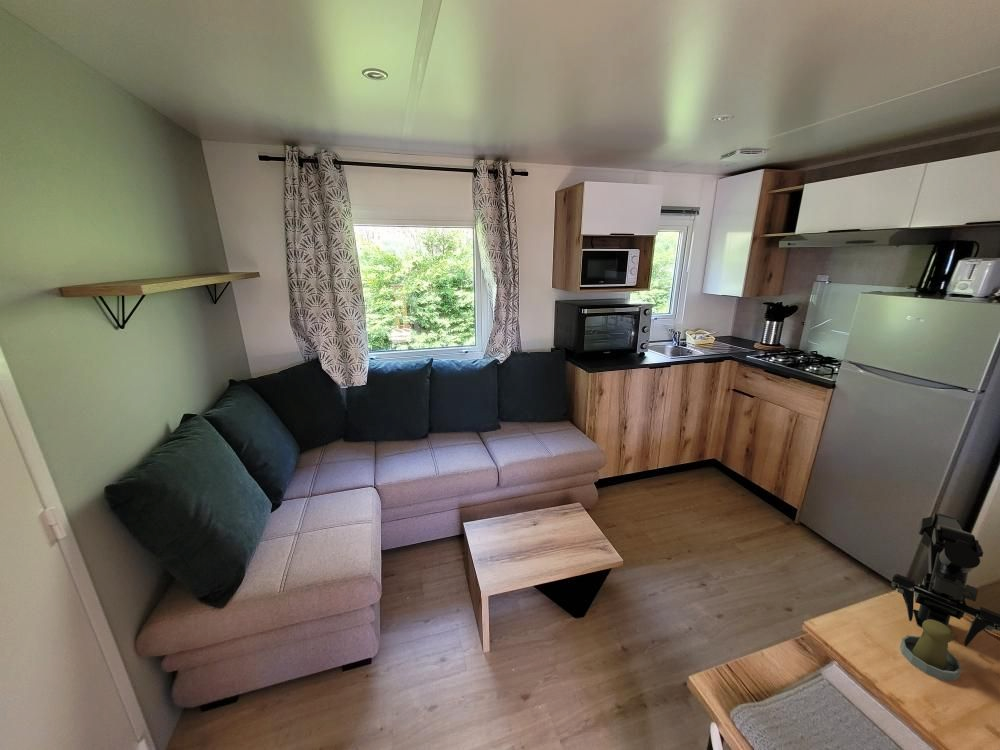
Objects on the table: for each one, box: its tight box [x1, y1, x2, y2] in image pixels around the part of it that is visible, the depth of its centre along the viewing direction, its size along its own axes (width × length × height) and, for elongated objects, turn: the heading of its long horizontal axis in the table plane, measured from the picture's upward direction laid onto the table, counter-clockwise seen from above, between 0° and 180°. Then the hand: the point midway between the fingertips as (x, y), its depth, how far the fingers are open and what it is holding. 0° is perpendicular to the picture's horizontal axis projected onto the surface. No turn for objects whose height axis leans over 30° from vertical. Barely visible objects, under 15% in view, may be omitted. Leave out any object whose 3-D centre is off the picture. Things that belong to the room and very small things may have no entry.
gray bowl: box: [899, 634, 963, 682], centre depth 97 cm, size 10×10×2 cm
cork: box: [912, 619, 954, 670], centre depth 96 cm, size 6×6×11 cm
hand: (936, 632), depth 95 cm, fingers open, 9 cm apart
